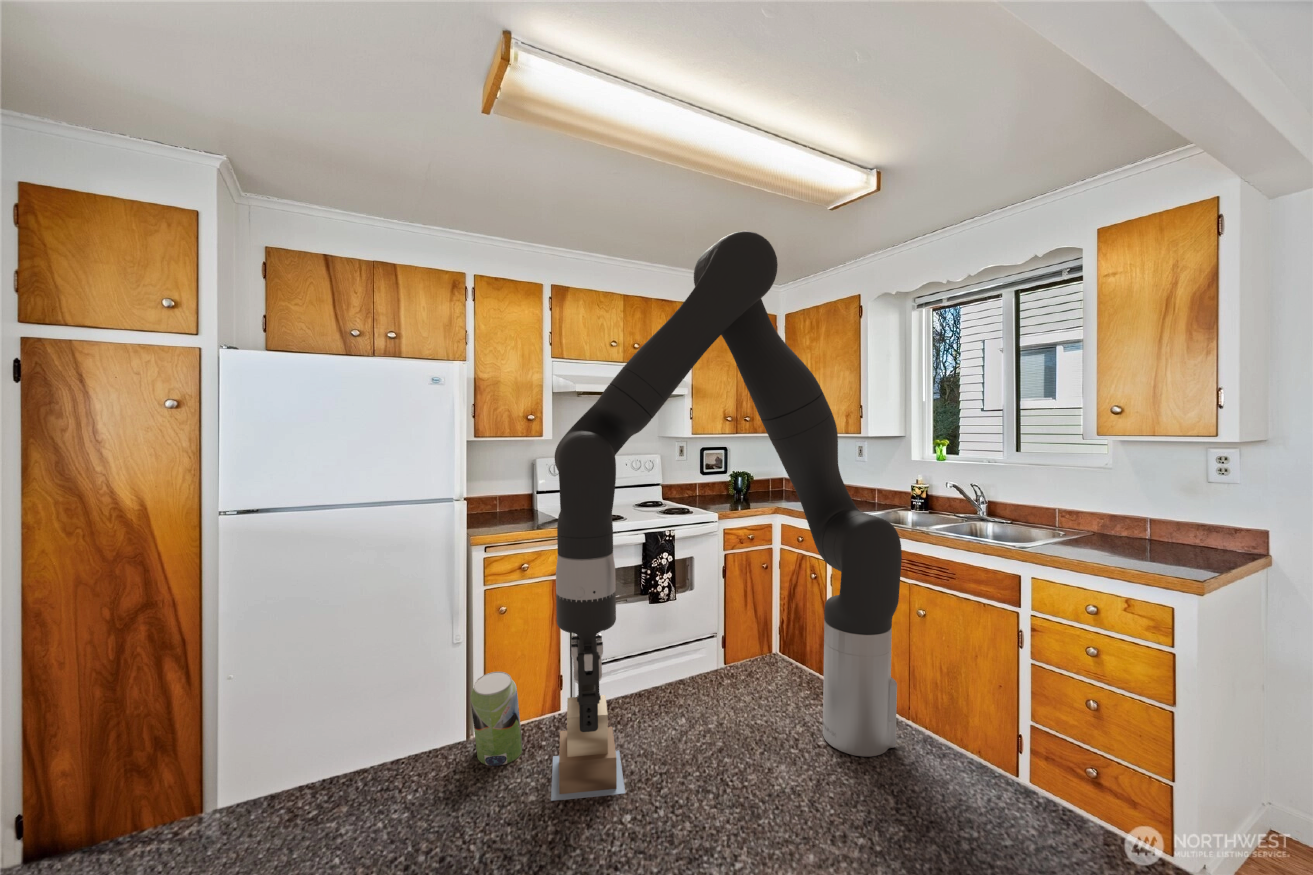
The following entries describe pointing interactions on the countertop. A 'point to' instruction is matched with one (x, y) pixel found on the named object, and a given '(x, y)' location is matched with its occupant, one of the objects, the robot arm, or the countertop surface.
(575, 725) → the maple cube
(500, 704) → the beverage can
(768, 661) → the countertop surface
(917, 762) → the countertop surface
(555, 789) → the board
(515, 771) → the countertop surface
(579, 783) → the walnut block
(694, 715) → the countertop surface
